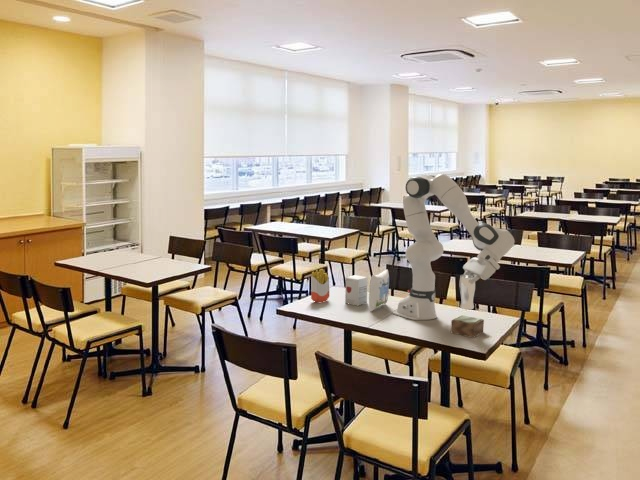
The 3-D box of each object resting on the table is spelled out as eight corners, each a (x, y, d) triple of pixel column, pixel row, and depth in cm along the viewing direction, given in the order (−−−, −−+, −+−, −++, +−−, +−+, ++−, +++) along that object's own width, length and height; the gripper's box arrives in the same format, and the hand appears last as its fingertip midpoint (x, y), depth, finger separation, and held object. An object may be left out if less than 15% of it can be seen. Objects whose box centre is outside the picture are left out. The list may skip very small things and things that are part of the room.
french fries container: (329, 300, 326) (330, 269, 323) (317, 304, 318) (317, 272, 315) (323, 299, 329) (324, 268, 326) (310, 302, 321) (311, 271, 318)
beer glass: (460, 305, 271) (460, 274, 269) (475, 306, 269) (475, 274, 267) (458, 309, 265) (458, 277, 262) (474, 310, 263) (474, 278, 260)
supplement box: (344, 303, 320) (345, 277, 318) (354, 300, 327) (354, 274, 324) (357, 306, 314) (358, 279, 312) (367, 303, 321) (368, 276, 319)
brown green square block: (450, 332, 268) (451, 319, 267) (461, 327, 277) (461, 314, 276) (473, 337, 261) (473, 323, 260) (483, 332, 270) (483, 318, 269)
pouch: (363, 310, 305) (364, 273, 302) (380, 303, 321) (381, 268, 318) (376, 313, 301) (377, 275, 298) (393, 305, 317) (394, 269, 314)
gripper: (472, 251, 275) (452, 272, 274) (493, 258, 255) (471, 281, 254) (480, 260, 276) (461, 281, 276) (501, 268, 256) (480, 290, 256)
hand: (466, 281), depth 265 cm, fingers closed on beer glass, 6 cm apart
